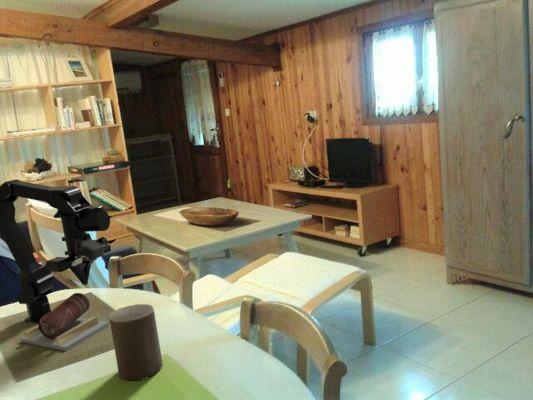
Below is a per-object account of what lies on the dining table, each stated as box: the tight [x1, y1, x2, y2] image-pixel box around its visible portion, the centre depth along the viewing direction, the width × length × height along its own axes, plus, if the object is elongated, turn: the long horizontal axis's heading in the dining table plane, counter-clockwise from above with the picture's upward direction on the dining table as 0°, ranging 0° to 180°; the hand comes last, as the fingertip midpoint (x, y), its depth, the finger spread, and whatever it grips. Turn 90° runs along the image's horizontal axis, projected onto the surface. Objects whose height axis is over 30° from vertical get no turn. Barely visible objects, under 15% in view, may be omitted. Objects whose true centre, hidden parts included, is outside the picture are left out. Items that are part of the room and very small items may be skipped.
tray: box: [20, 316, 110, 352], centre depth 136 cm, size 18×14×3 cm
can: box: [37, 292, 90, 339], centre depth 136 cm, size 6×6×14 cm
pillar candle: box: [109, 303, 164, 381], centre depth 111 cm, size 10×10×15 cm
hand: (85, 284), depth 142 cm, fingers closed
